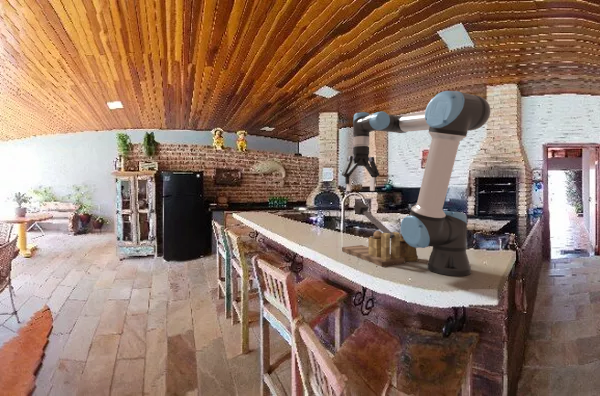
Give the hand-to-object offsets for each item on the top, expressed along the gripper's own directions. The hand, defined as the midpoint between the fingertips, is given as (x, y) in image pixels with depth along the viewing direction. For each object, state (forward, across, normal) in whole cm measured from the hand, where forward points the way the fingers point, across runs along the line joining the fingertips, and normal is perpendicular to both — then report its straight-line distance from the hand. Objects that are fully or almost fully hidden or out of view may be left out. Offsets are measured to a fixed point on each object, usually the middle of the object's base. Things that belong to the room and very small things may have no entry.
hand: (360, 191), depth 144 cm
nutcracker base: (+30, 0, +8) cm, 31 cm away
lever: (+15, 0, +9) cm, 17 cm away
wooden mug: (+30, -14, +18) cm, 38 cm away
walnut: (+21, 0, +13) cm, 25 cm away
